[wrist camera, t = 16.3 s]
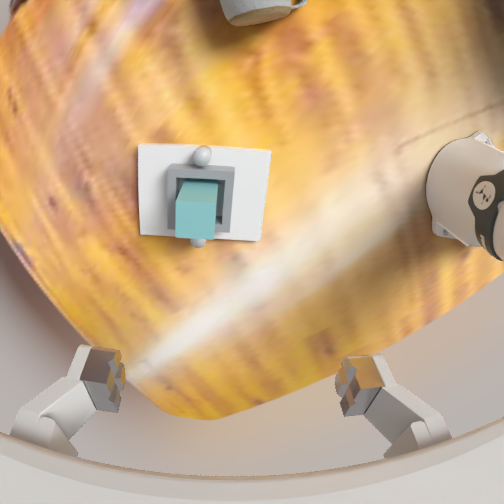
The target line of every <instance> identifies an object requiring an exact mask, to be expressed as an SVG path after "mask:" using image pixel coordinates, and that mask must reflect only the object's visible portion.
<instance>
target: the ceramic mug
mask: <svg viewBox="0 0 504 504" xmlns="http://www.w3.org/2000/svg"><path fill="white" fill-rule="evenodd" d="M307 1H308V0H300V1H299V3H298V4H297V5H294V6H291V0H220V3H221V6H222V10H223V13H224V15H225V17H226V19H227V21H228V22H229V23H230V24H231V25H233V26H248V25H255V24H260V23H265V22H269V21H273V20H277V19H281V18H283V17H286V16H287V15H289V13H290V12H291V10H294V9H297V8H300V7H302V6H303V5H305V4H306V3H307Z"/></svg>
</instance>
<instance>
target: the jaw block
mask: <svg viewBox="0 0 504 504" xmlns="http://www.w3.org/2000/svg"><path fill="white" fill-rule="evenodd" d="M217 193H218V180H210V179H192V178H186V179H185V181H184V183H183V185H182V188H181V190H180V192H179V195H178V197H177V199H176V223H175V231H176V238H192V239H209V240H214V232H215V220H216V208H217Z"/></svg>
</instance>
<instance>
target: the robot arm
mask: <svg viewBox="0 0 504 504" xmlns="http://www.w3.org/2000/svg"><path fill="white" fill-rule="evenodd" d="M426 197H427V202H428V206H429V209H430V211H431V214H432V231H433V233H434V234H436V235H437V236H440V237H446V238H452V239H457V240H459V241H461V242H462V243H463V244H464V245H466V246H468V247H469V246H470V245H471V246H474V247H483V248H484V249H485V250H486V251H487V252H488V253H489V254H490V255H491V256H493V257H495V258H496V259H498V260H500V261H504V152H503V151H501V150H499V149H497V148H496V147H495V146H494V145H493V143H492V142H491V140H490V139H489V138H488V136H487V135H486V134H485V133H484V132H482V131H477V132H476V133H474V134H473V135H471V136H470V137H469V138H465V139H458V140H455V141H453V142H451V143H449V144H448V145H446V146H445V147H444V148H443V149H442V150H441V151H440V152H439V153H438V155H437V156H436V158H435V159H434V161H433V163H432V165H431V168H430V171H429V174H428V178H427V184H426ZM120 360H121V353H120V351H119V350H114V349H108V348H102V347H96V346H89V345H83V344H81V345H80V346H79V347H78V349H77V351H76V353H75V356H74V358H73V361H72V363H71V365H70V368H69V371H68V373H67V375H66V377H61V378H60V379H59V380H57V381H56V382H55V383H53V384H52V385H50V386H49V387H48V388H46V389H45V390H44V391H42V392H41V393H40V394H38V395H37V396H36V397H34V398H33V399H32V400H31V401H29V402H27V403H26V404H25V405H23V406H22V407H21V408H20V409H19V412H18V414H17V417H16V420H15V422H14V425H13V428H12V430H11V433H10V436H9V435H7V434H4V433H1V432H0V504H504V417H502V418H500V419H498V420H496V421H494V422H492V423H490V424H487V425H485V426H483V427H480V428H478V429H476V430H473V431H471V432H468V433H466V434H463V435H461V436H458V437H455V438H452V437H451V435H450V433H449V430H448V428H447V426H446V424H445V422H444V420H443V417H442V415H441V414H440V413H438V412H437V411H436V410H434V409H433V408H431V407H430V406H429V405H427V404H426V403H425V402H423V401H422V400H420V399H419V398H418V397H416V396H415V395H413V394H412V393H411V392H409V391H408V390H407V389H405V388H404V387H403V386H401V385H397V384H396V382H395V380H394V378H393V375H392V373H391V371H390V369H389V368H388V365H387V363H386V361H385V359H384V357H383V355H381V354H375V355H361V356H348V357H345V358H344V359H343V361H342V363H341V364H342V368H341V369H340V370H338V372H337V374H336V377H335V386H336V387H335V388H336V392H337V394H338V395H339V396H341V397H342V400H341V402H340V405H341V408H342V411H343V415H344V417H345V416H355V415H363V414H364V416H365V417H366V418H367V419H368V420H369V421H370V422H371V423H372V424H373V425H374V426H375V427H376V428H377V429H378V430H379V431H380V432H381V433H382V434H383V435H384V436H385V437H386V438H387V439H388V440H389V441H390V442H391V443H392V446H391V447H390V448H389V449H388V450H387V451H386V452H385V453H384V458H385V459H382V460H377V461H373V462H368V463H363V464H358V465H353V466H348V467H342V468H335V469H330V470H322V471H314V472H306V473H296V474H284V475H270V476H240V477H239V476H237V477H236V476H235V477H234V476H230V477H229V476H197V475H182V474H171V473H161V472H153V471H145V470H137V469H132V468H125V467H120V466H114V465H109V464H104V463H99V462H95V461H90V460H86V459H82V458H78V457H77V455H78V452H77V450H76V449H75V448H74V446H73V445H72V444H71V443H70V441H69V439H70V438H71V437H72V436H73V435H74V434H75V433H76V432H77V431H78V430H79V429H80V428H81V427H82V426H83V425H84V424H85V423H86V422H87V421H88V420H89V419H90V418H91V416H92V415H93V414H94V413H95V412H96V411H97V410H102V411H108V412H115V413H118V410H119V406H120V401H121V396H120V394H119V392H120V391H121V390H123V388H124V384H125V368H124V365H123V364H122V363H121V362H120Z"/></svg>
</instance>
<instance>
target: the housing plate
mask: <svg viewBox="0 0 504 504" xmlns="http://www.w3.org/2000/svg"><path fill="white" fill-rule="evenodd" d="M270 160H271V150H264V149H253V148H241V147H228V146H212V145H192V144H157V143H141V144H139V145H138V190H139V217H140V234H141V235H160V236H176V231H175V223H176V199H177V197H178V195H179V192H180V190H181V188H182V185H183V183H184V181H185V179H186V178H192V179H210V180H218V193H217V208H216V220H215V232H214V239H231V240H248V241H260V238H261V230H262V222H263V215H264V207H265V199H266V192H267V184H268V176H269V168H270ZM190 243H191V245H192V246H194V247H196V248H201V247H203V246H204V245H205V244H206V239H192V238H190Z"/></svg>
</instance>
